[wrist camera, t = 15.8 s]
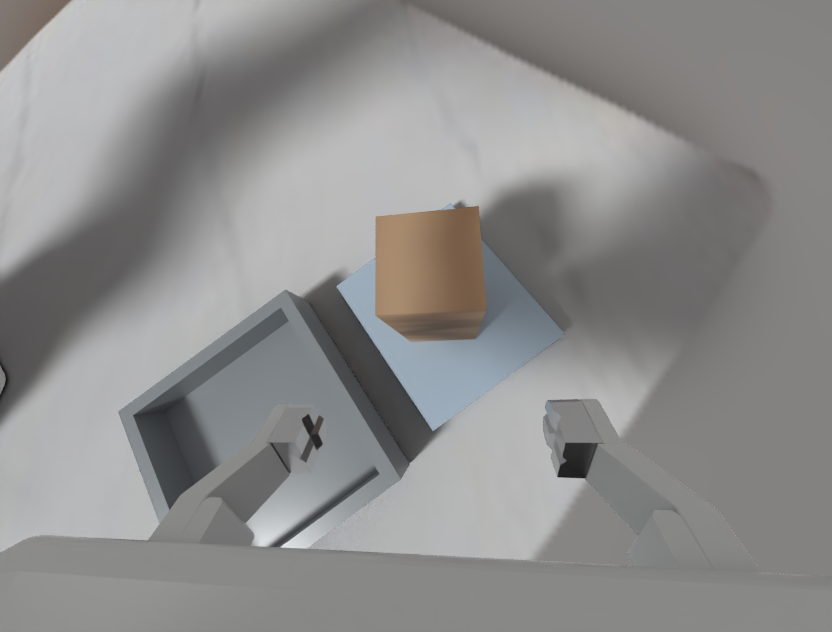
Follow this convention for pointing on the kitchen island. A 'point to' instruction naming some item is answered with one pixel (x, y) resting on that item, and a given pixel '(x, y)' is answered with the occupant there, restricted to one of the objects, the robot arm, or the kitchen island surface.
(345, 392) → the parts bin
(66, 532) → the kitchen island surface
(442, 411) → the light blue flat slab
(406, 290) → the walnut block
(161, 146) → the kitchen island surface
